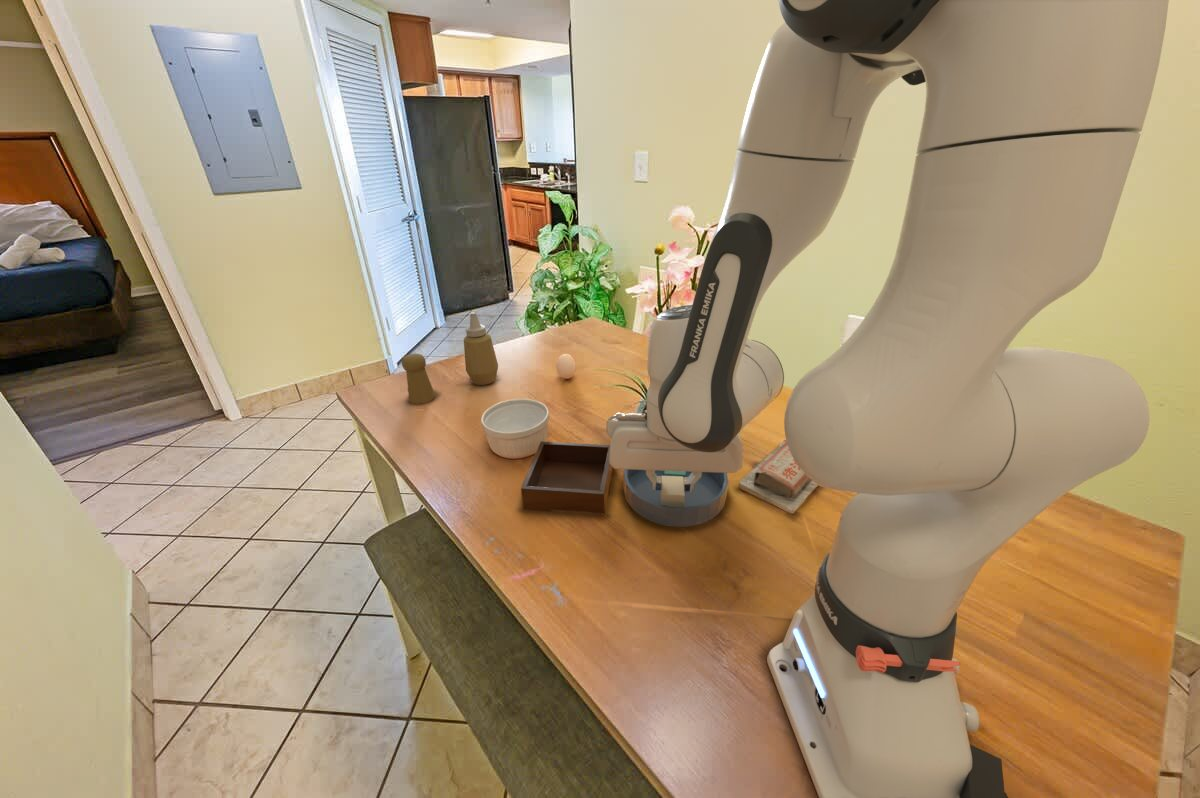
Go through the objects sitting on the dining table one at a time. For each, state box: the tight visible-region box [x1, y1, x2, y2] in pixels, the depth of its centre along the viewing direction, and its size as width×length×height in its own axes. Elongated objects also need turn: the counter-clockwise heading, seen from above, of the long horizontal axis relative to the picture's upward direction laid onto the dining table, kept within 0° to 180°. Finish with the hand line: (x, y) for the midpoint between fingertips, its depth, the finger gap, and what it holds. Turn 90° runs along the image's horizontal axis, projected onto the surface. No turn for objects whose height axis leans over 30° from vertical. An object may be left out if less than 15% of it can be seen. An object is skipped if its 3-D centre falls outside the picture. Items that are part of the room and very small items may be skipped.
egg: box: [556, 353, 577, 380], centre depth 120 cm, size 5×5×7 cm
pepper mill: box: [401, 353, 436, 405], centre depth 112 cm, size 6×6×11 cm
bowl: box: [623, 469, 729, 528], centre depth 80 cm, size 17×17×4 cm
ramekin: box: [480, 398, 550, 460], centre depth 94 cm, size 13×13×7 cm
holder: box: [520, 441, 614, 514], centre depth 83 cm, size 14×14×4 cm
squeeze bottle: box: [463, 311, 499, 386], centre depth 117 cm, size 8×8×18 cm
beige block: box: [661, 476, 685, 507], centre depth 76 cm, size 5×4×3 cm
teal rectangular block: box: [664, 471, 686, 480], centre depth 83 cm, size 5×4×3 cm
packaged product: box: [738, 439, 820, 515], centre depth 83 cm, size 18×5×10 cm
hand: (672, 488), depth 76 cm, fingers closed on beige block, 3 cm apart
